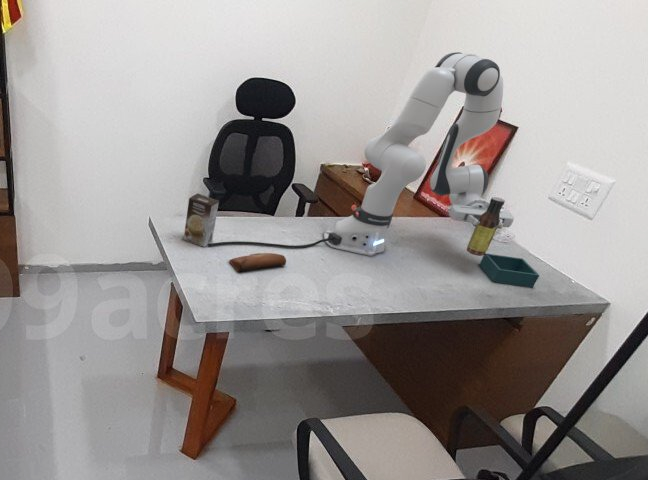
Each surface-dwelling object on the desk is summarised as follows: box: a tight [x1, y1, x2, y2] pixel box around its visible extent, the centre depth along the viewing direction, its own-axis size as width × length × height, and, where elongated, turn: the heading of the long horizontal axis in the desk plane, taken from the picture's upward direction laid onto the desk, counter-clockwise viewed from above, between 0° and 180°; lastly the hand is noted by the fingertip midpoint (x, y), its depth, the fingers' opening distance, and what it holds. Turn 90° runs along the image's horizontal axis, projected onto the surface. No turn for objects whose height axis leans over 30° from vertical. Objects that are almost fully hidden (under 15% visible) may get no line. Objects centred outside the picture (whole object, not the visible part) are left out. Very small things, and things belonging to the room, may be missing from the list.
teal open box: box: [478, 252, 540, 289], centre depth 184 cm, size 14×13×5 cm
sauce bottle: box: [466, 196, 506, 257], centre depth 177 cm, size 7×6×20 cm
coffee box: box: [183, 193, 220, 248], centre depth 182 cm, size 9×6×16 cm
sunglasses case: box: [229, 252, 287, 273], centre depth 174 cm, size 18×7×7 cm, turn 113°
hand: (489, 225), depth 176 cm, fingers closed on sauce bottle, 6 cm apart
